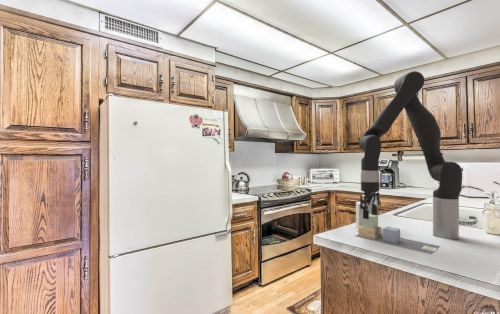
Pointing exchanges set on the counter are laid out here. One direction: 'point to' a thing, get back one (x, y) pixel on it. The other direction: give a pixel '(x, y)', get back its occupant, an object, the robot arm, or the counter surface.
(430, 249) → the card
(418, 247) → the mat
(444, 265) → the counter surface
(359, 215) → the supplement box
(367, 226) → the sage block
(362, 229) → the maple base
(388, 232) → the blue block
